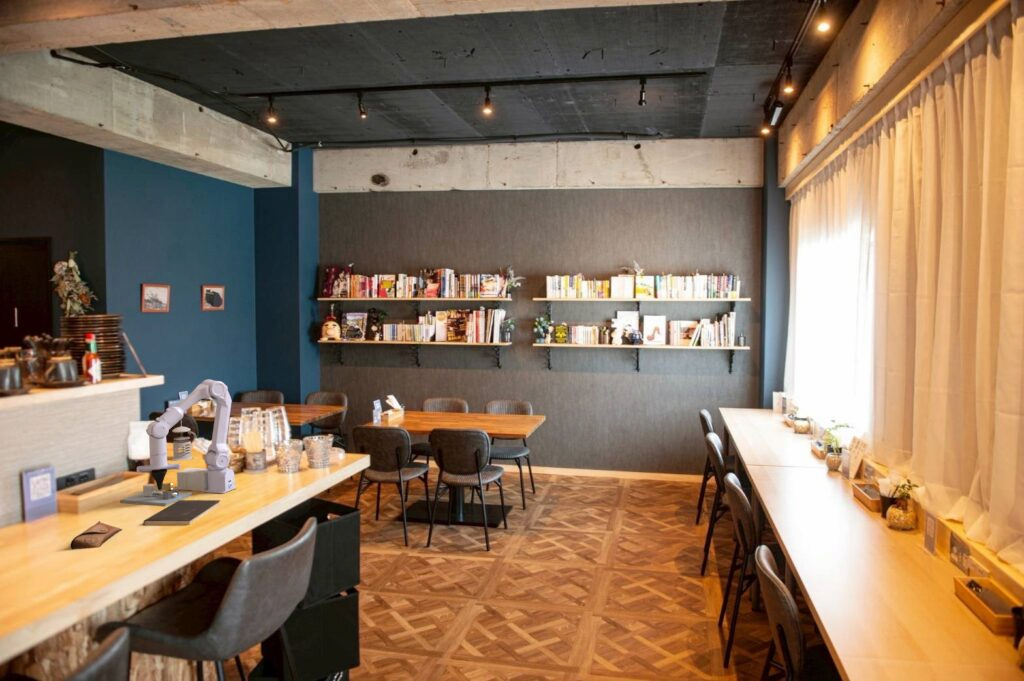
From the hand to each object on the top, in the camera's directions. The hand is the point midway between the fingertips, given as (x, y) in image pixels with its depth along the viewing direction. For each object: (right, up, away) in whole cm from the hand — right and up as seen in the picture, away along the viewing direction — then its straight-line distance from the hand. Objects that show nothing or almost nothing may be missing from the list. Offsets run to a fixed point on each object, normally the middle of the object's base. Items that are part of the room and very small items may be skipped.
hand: (159, 489), depth 260 cm
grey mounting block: (+3, -5, +3) cm, 6 cm away
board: (-4, -5, +5) cm, 8 cm away
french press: (-26, -1, +74) cm, 79 cm away
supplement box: (-1, 0, +21) cm, 21 cm away
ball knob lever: (0, -1, +2) cm, 2 cm away
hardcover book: (+16, -6, -15) cm, 23 cm away
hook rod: (-2, -3, +4) cm, 6 cm away
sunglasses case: (0, -8, -39) cm, 40 cm away
